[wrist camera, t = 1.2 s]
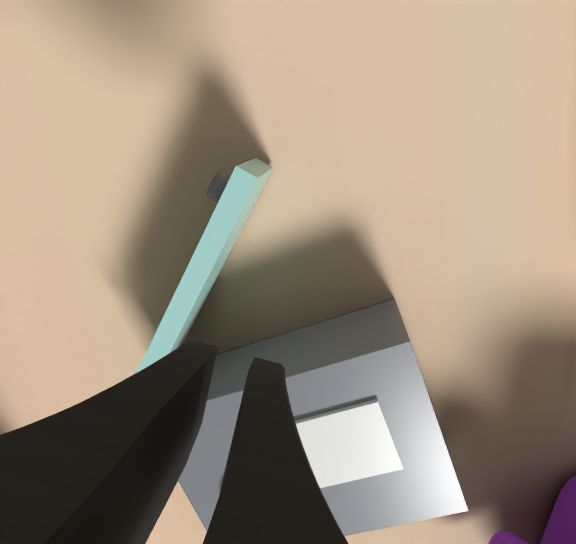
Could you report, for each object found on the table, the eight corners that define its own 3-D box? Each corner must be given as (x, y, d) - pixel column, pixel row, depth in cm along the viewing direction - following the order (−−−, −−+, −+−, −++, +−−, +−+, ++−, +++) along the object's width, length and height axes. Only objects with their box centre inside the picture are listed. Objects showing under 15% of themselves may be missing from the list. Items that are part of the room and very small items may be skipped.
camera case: (241, 489, 23) (221, 566, 19) (177, 367, 21) (139, 424, 17) (444, 441, 21) (470, 517, 17) (394, 298, 19) (411, 345, 15)
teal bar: (176, 358, 21) (142, 410, 17) (148, 343, 21) (106, 392, 17) (274, 168, 17) (258, 179, 14) (241, 149, 17) (215, 154, 14)
